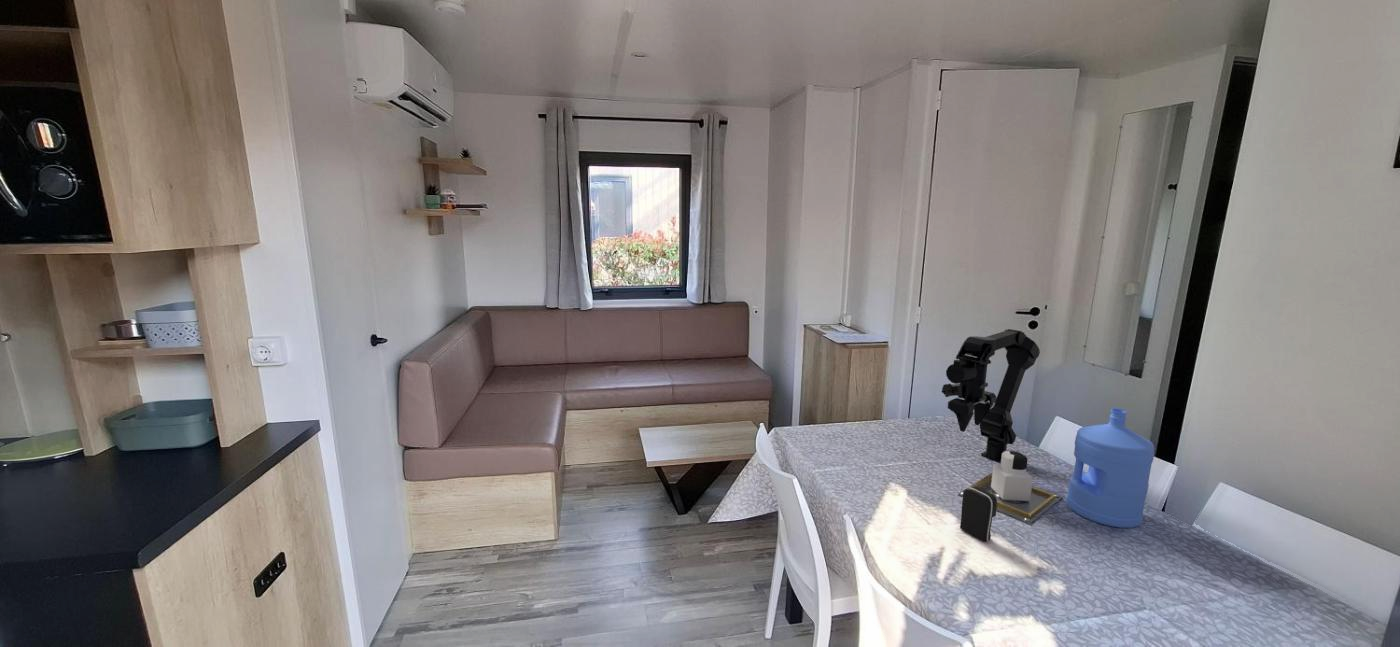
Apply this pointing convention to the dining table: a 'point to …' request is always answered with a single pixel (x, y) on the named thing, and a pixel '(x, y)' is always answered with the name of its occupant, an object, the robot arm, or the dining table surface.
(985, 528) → the battery charger
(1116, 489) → the water jug
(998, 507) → the lid
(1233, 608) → the dining table surface
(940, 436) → the dining table surface
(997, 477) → the medicine bottle
